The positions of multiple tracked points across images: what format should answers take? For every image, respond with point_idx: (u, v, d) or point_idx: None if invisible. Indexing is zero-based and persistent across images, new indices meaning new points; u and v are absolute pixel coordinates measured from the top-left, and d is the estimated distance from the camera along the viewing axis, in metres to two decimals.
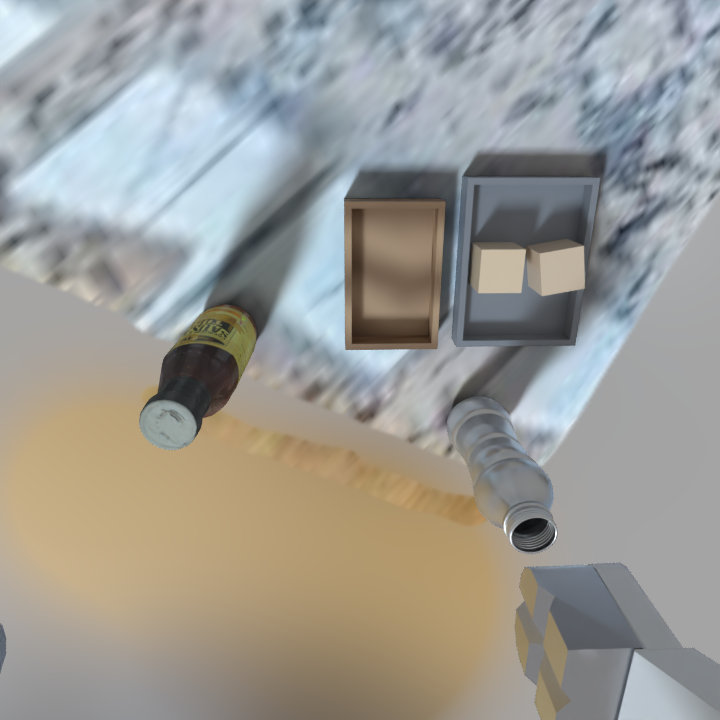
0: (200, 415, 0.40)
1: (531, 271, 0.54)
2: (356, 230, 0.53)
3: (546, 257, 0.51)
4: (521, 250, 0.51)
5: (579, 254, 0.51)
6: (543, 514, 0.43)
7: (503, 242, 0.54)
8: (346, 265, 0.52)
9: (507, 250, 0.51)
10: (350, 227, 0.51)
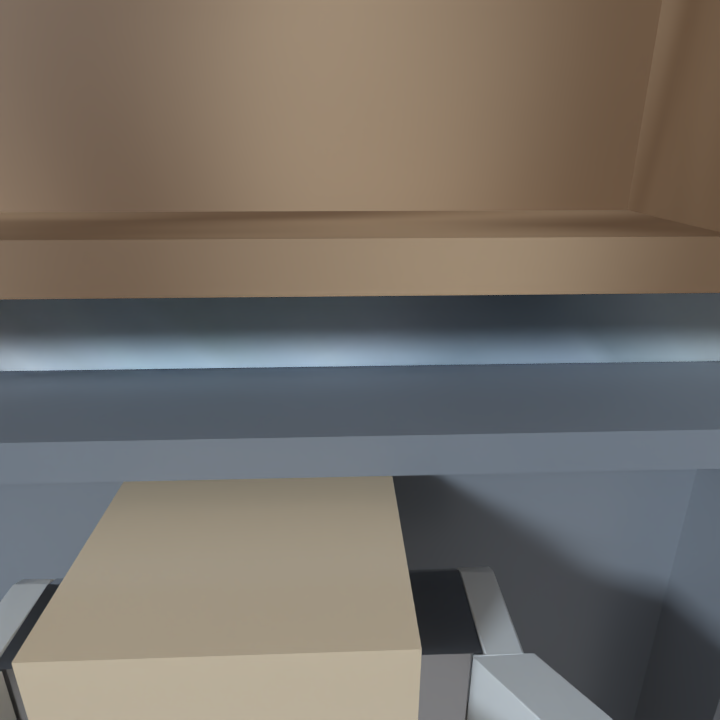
0: None
1: None
2: None
3: None
4: None
5: None
6: None
7: None
8: None
9: None
10: None
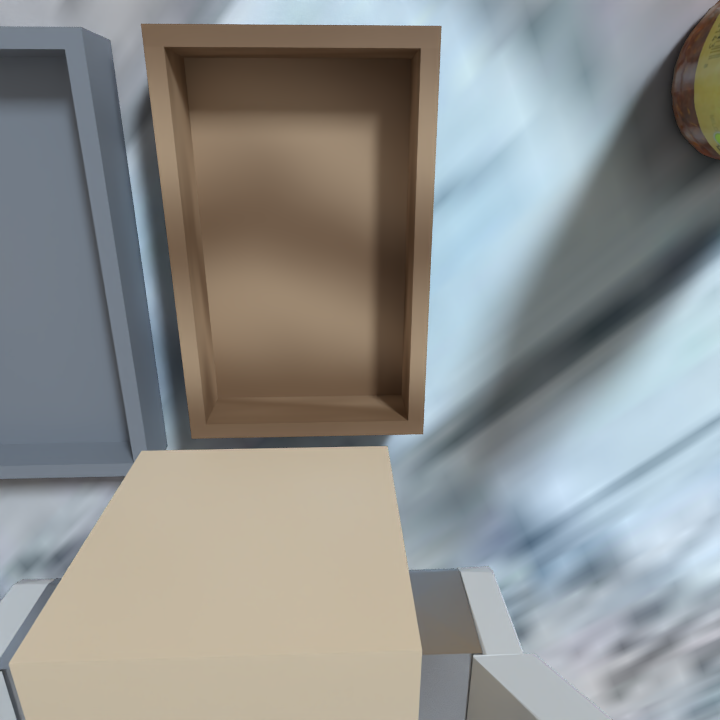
0: None
1: None
2: (389, 345, 0.23)
3: None
4: None
5: None
6: None
7: None
8: (425, 292, 0.20)
9: None
10: (412, 381, 0.21)
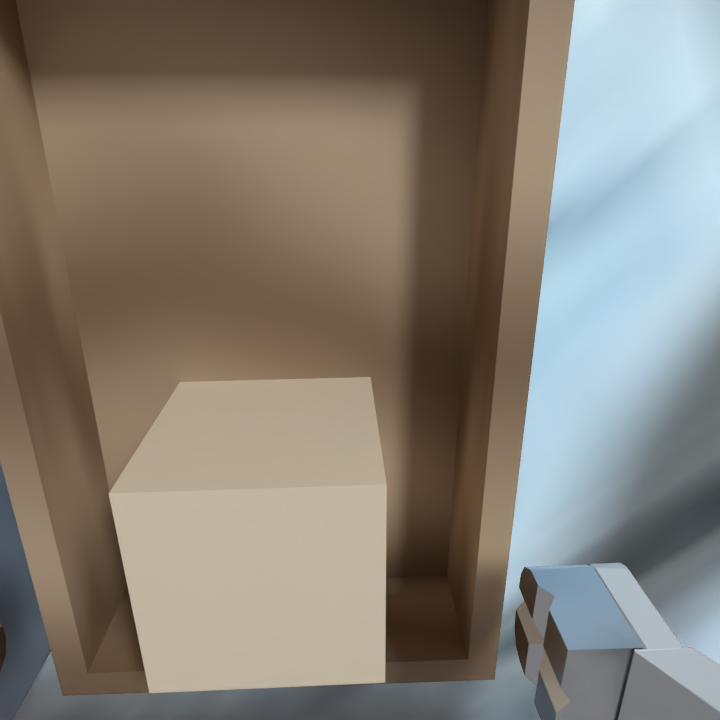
0: None
1: None
2: (428, 500, 0.13)
3: None
4: (380, 665, 0.10)
5: None
6: None
7: None
8: (515, 444, 0.10)
9: (380, 607, 0.09)
10: (478, 597, 0.11)
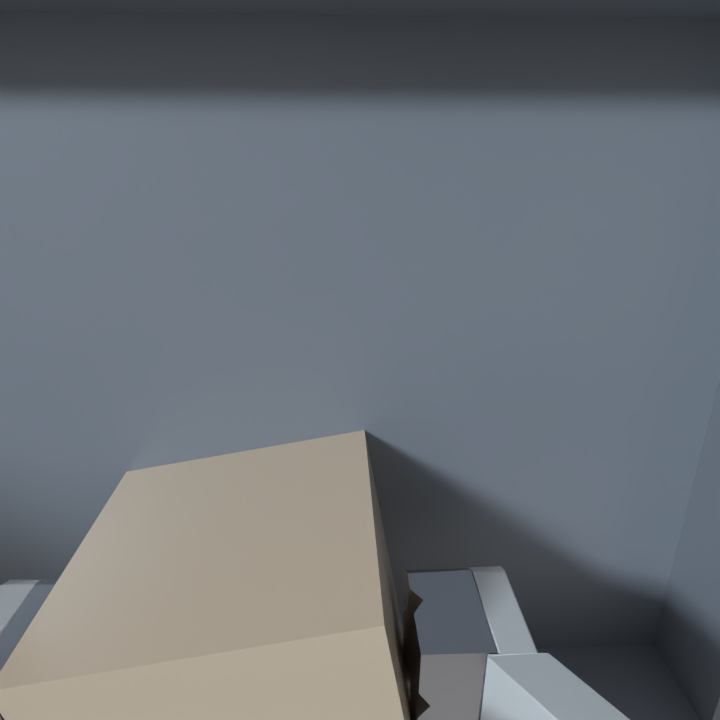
0: None
1: (215, 500, 0.08)
2: None
3: (349, 677, 0.06)
4: None
5: None
6: None
7: None
8: None
9: None
10: None
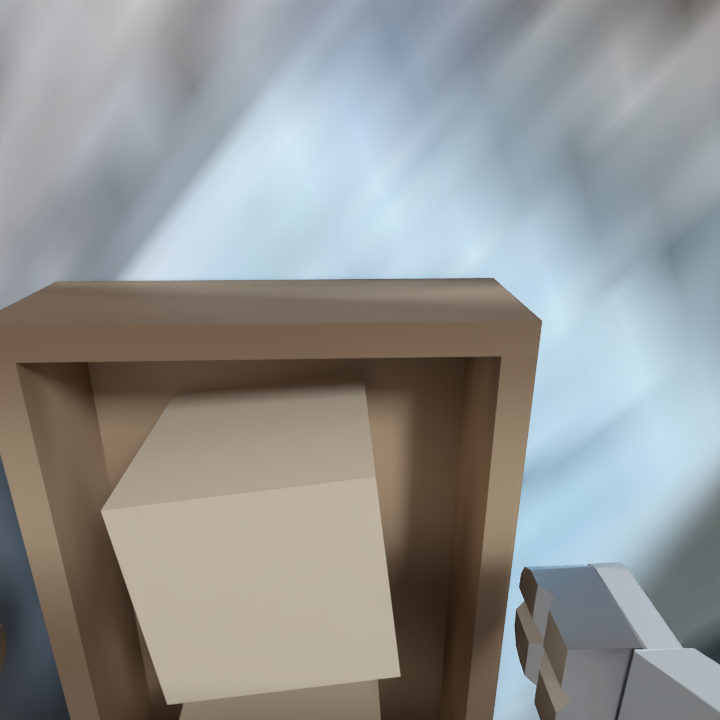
0: None
1: (249, 411, 0.11)
2: (420, 688, 0.15)
3: (349, 514, 0.08)
4: None
5: (355, 664, 0.09)
6: None
7: None
8: (490, 692, 0.12)
9: None
10: None
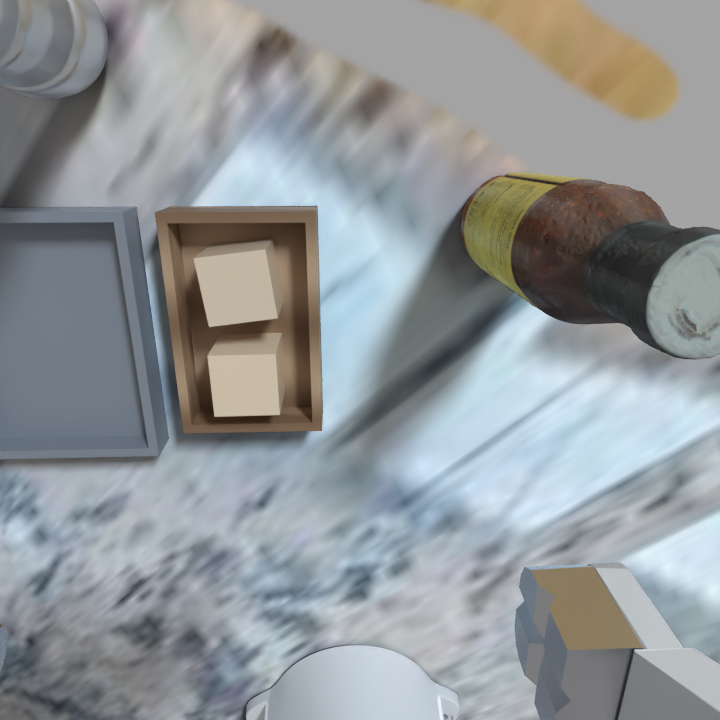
0: (627, 302, 0.18)
1: (233, 245, 0.34)
2: (304, 376, 0.38)
3: (259, 260, 0.31)
4: (278, 409, 0.35)
5: (264, 313, 0.32)
6: None
7: (284, 376, 0.38)
8: (317, 349, 0.35)
9: (276, 390, 0.34)
10: (313, 399, 0.36)
